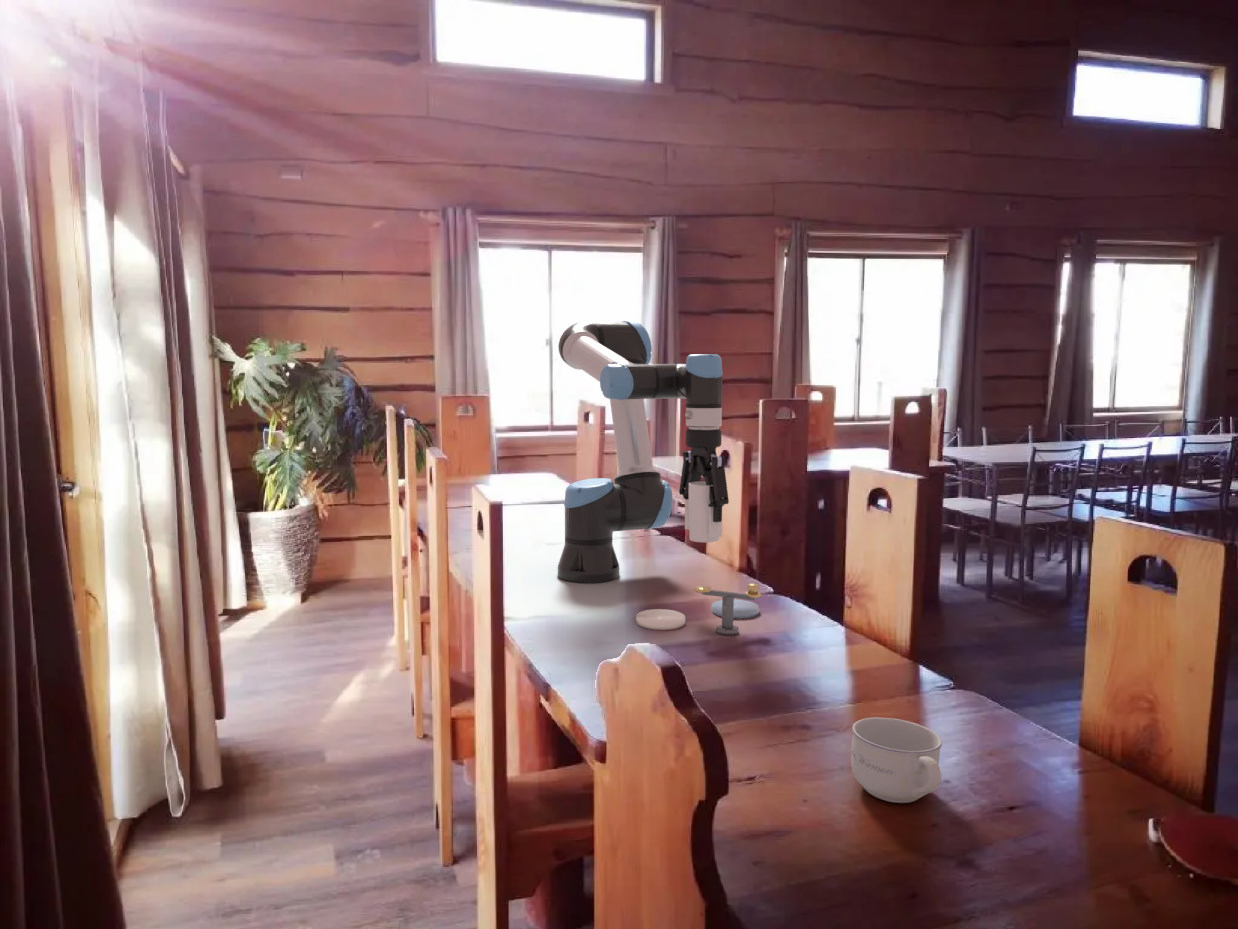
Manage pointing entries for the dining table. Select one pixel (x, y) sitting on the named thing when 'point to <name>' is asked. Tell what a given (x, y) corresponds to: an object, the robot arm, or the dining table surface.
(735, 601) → the dish blue
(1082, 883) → the dining table surface
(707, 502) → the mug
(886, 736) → the teacup
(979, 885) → the dining table surface
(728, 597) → the balance
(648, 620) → the dish cream
